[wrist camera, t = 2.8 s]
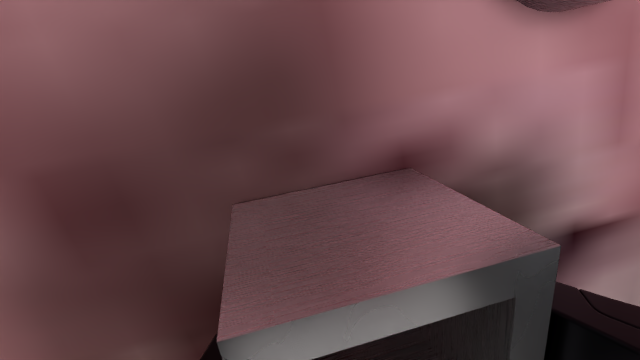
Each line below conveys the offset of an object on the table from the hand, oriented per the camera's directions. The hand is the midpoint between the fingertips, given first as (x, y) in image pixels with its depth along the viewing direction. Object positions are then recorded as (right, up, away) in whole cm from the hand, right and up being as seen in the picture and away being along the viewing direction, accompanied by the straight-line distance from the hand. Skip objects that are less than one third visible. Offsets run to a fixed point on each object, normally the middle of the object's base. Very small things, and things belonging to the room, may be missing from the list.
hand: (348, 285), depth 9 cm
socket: (0, 0, +1) cm, 1 cm away
